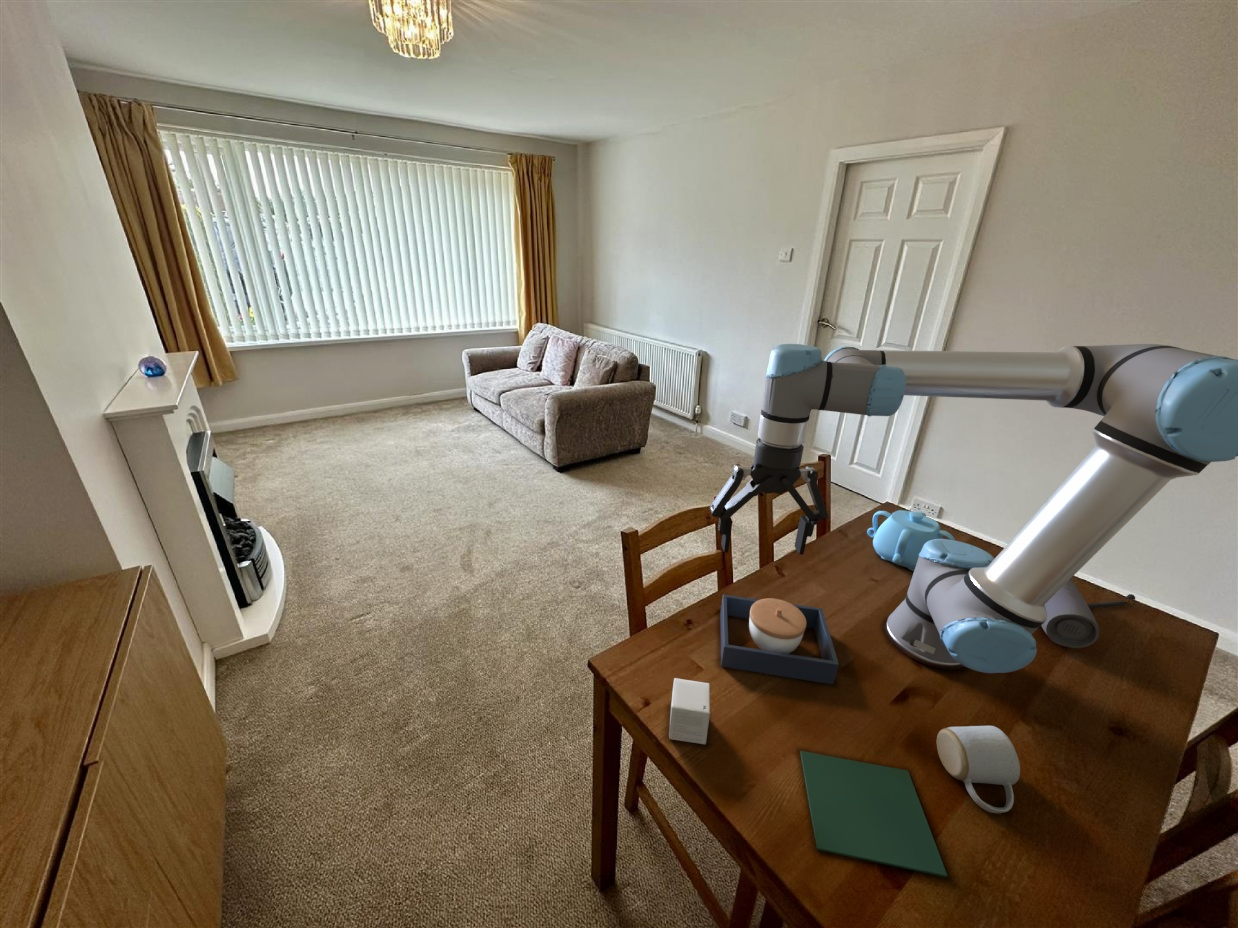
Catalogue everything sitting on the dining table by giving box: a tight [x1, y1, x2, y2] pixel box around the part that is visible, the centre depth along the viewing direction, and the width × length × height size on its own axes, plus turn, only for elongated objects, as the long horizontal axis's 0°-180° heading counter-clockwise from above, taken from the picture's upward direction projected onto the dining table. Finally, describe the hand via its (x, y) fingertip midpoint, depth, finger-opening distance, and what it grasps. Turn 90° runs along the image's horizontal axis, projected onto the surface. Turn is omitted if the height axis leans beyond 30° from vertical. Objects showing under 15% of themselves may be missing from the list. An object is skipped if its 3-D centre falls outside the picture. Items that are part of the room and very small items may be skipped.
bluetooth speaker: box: [1040, 578, 1100, 649], centre depth 106 cm, size 23×9×10 cm, turn 154°
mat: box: [799, 750, 948, 878], centre depth 69 cm, size 16×14×1 cm
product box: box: [668, 677, 711, 745], centre depth 79 cm, size 6×6×7 cm
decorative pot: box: [866, 509, 956, 572], centre depth 126 cm, size 16×16×14 cm
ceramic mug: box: [935, 725, 1021, 814], centre depth 72 cm, size 11×8×8 cm
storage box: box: [719, 594, 840, 685], centre depth 97 cm, size 21×16×5 cm
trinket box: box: [748, 597, 807, 654], centre depth 96 cm, size 11×11×9 cm
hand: (761, 549), depth 88 cm, fingers open, 13 cm apart
